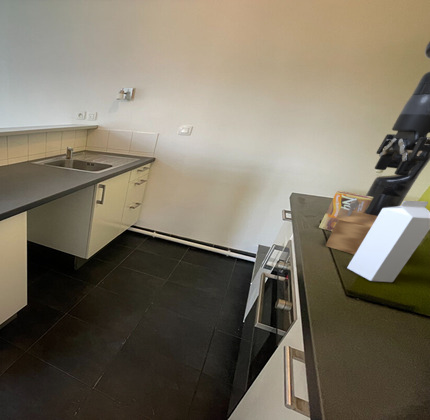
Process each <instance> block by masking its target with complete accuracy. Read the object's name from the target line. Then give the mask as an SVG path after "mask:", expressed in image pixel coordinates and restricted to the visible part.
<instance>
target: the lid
mask: <svg viewBox="0 0 430 420" xmlns="http://www.w3.org/2000/svg"><path fill="white" fill-rule="evenodd" d="M358 205H359V202H358V201H357V200H353V201H351V203H350V207H351V208H350V209H349V210H347V209H342V208H340V210H339V213H338V215H337V217H336V219H338V220H342V221H347V222H351V223H355V224H359V225H363V226H367V227H372V225H373V223H374V222H375V220H376V218H377V217H378V216H375V215H370V214H366V213H361V212H356V211H353V210H354V208H357V207H358Z"/></svg>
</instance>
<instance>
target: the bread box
mask: <svg viewBox="0 0 430 420" xmlns="http://www.w3.org/2000/svg"><path fill="white" fill-rule="evenodd" d="M370 228H371V227H367V226H363V225H359V224H355V223H351V222H347V221H342V220H338V221H337V223H336V225H335V226H334V228H333V230H332V231H330V233H329V236H328V238H327V241H326V243H325V247H328V248H331V249H333V250H337V251H341V252H344V253H348V254H351V255H353V256H354V255H355V254H356V252H357V250H358V249H359V247H360V245H361V243H362V242H363V240H364V238H365V237H366V235H367V233H368V232H369V230H370Z"/></svg>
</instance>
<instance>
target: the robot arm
mask: <svg viewBox="0 0 430 420" xmlns="http://www.w3.org/2000/svg"><path fill="white" fill-rule="evenodd" d="M424 56H425V57H426V59H428V60H430V40H429V41H428V42H427V44H426V45H425V48H424ZM391 130H392V131H394V132H396V133H392V134H391V133H390V134H389V133H388V134H387V133H386V135H385V137H384V138H383V140H382V142H381V144H380V145H379V147H378V149H377V151H376V152H375V153H376V155H378V156H379V159H378V160H377V162H376V164H375V166H374V169H375V170H377V171H386V170H387V168H388V169H395V171H394V174H392V175H380V176H376V177H375V179H374V180H373V181H372V184H370V187H369V189H368V191H367V193H366V194H365V196H370V197H374V198H373V200H372V201H371V203H370V205H369V207H368V208H367V210H366V212H365V213H366V214H370V215H375V216H378V215H379V213H380V212H381V210H382V208H388V207H397V206H401V205H402V203H403V202H404V201H405V199H406V197H407V195H408V193H409V192H410V190H411V189H412V186H413V185H414V184H415V182H416V181H417V180H418V177H419V176H420V175H421V173H422V172H423V170H424V169H425V168H426V166H427V165H428V163H429V162H430V136H428V134H430V71H427V72H425V73H424V74H423V75H422V76H421V77H420V79H419V81H418V83H417V85H416V86H415V88H414V90H413V92H412V94H411V95H410V97H409V98H408V100H407V101H406V103H405V104H404V106H403V108H402V109H401V111H400V112H399V115H398V117H397V119H396V120H395V122H394V124H393V126H392V128H391Z"/></svg>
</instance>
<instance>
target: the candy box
mask: <svg viewBox="0 0 430 420" xmlns="http://www.w3.org/2000/svg"><path fill="white" fill-rule="evenodd" d="M373 198H374V197H370V196H366V194H365V195H364V194H359V193H354V192H349V191H344V190H337V191H336V192H335V194H334V196H333V198H332V200H331V202H330V203H329V206H328V208H327V210H326V212H325V214H324V216H323V218H322V220H321V222H320V224H319V226H318V228H319V229H322V230H325V231H328V232H332V230H333V228H334V226H335V225H336V223H337V221H338V219H336V217H337V215H338V213H339V210H340V208H342V209H347V210H349V209H350V208H351V207H350V203H351V201H353V200H357V201H358V202H359V205H358V207H357V208H354V210H353V211H356V212H361V213H365V212H366V210H367V208H368V207H369V205H370V203H371V201H372V200H373Z"/></svg>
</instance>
